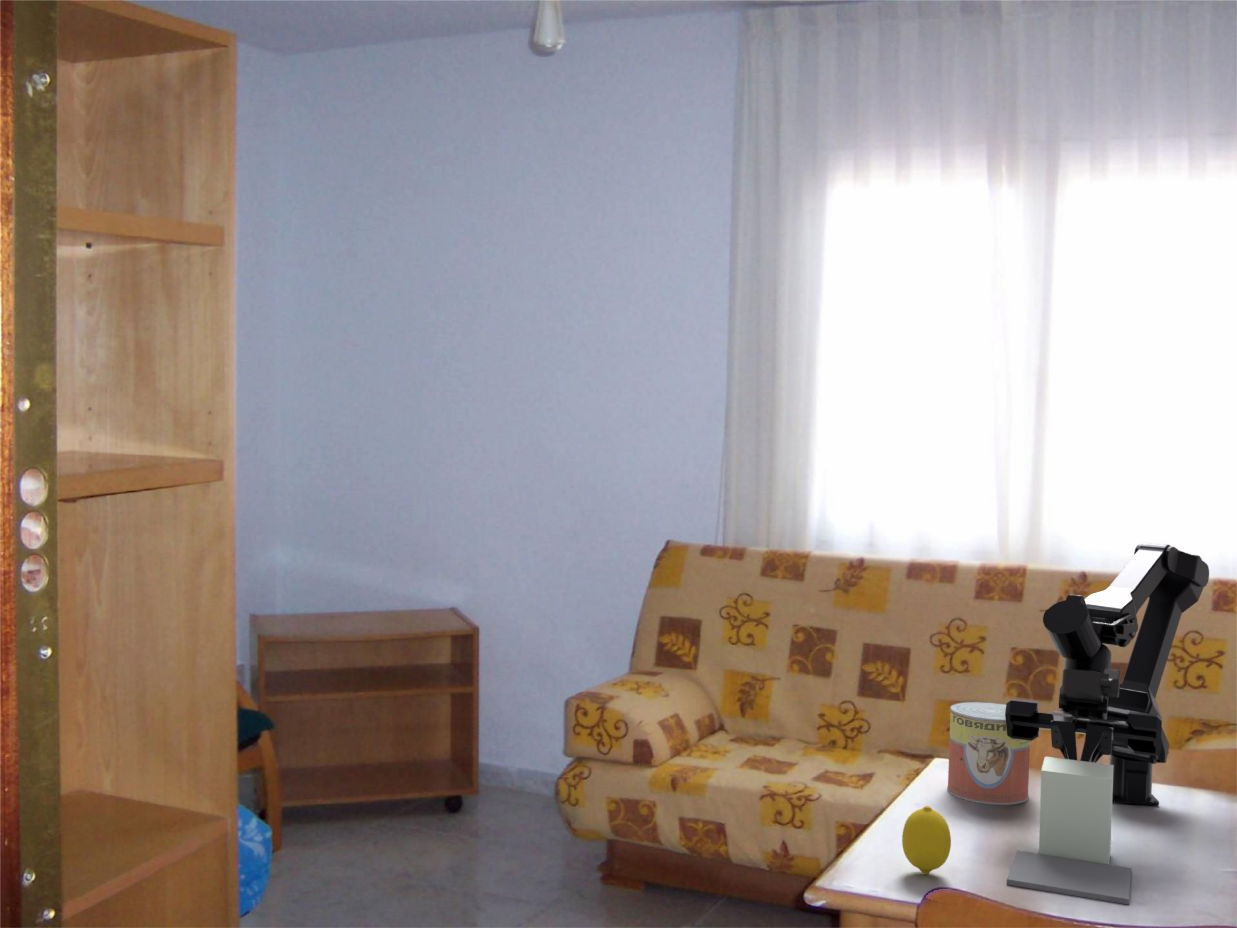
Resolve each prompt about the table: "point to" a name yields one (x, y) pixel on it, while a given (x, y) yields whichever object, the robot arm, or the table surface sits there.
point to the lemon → (926, 839)
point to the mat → (1071, 876)
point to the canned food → (986, 756)
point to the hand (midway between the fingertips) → (1077, 783)
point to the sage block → (1076, 809)
